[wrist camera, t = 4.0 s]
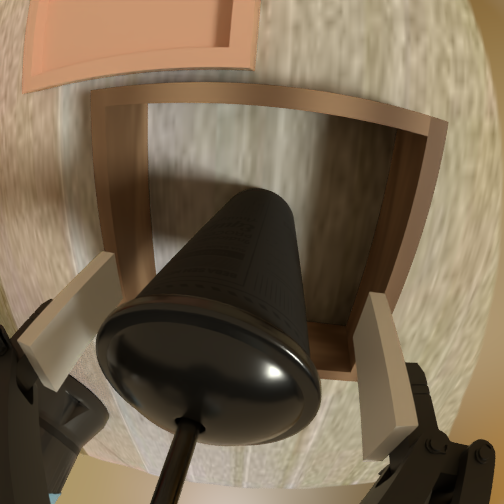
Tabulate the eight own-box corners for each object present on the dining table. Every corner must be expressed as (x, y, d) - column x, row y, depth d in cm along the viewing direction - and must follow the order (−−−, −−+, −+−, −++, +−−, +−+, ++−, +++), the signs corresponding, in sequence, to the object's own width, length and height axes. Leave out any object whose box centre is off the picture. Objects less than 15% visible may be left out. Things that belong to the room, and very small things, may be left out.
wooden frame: (150, 303, 26) (125, 341, 22) (135, 87, 17) (91, 90, 13) (353, 335, 24) (359, 381, 20) (414, 113, 15) (448, 122, 11)
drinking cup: (217, 274, 23) (104, 546, 6) (192, 177, 20) (-55, 455, 3) (319, 266, 22) (307, 592, 4) (308, 160, 18) (287, 637, 1)
